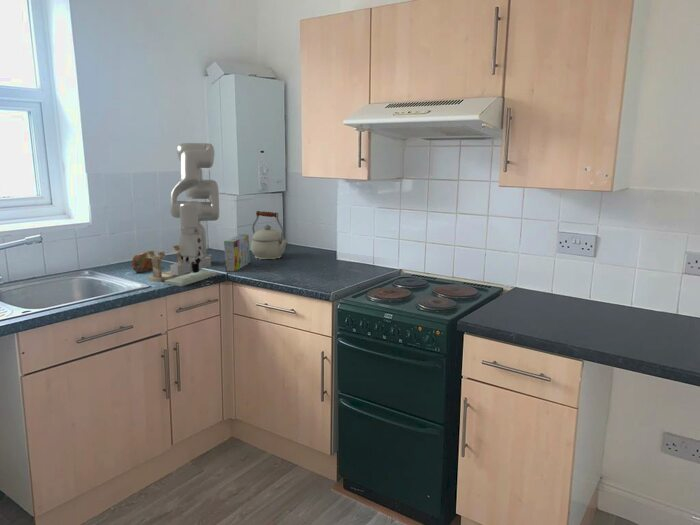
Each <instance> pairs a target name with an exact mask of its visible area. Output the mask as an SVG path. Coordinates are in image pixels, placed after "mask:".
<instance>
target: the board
mask: <svg viewBox="0 0 700 525" xmlns="http://www.w3.org/2000/svg"><path fill="white" fill-rule="evenodd" d="M216 274H217V275H218V271H213V270H203V269H199V272H196V273H193V272H191V273H190V274H186V275H183V276H179V277H176V278H172V279H169V280H166V281H164V284H165V285H169V284H171V285H170V286H178V287H184V286H187V285H189V284H193V283H196V282H200V281H203V280H206V279H209V278H208V277H210V276H213V275H216ZM217 275H216V276H217ZM213 277H214V276H213ZM205 278H206V279H205ZM210 278H211V277H210Z"/></svg>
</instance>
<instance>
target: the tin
mask: <svg viewBox="0 0 700 525" xmlns="http://www.w3.org/2000/svg"><path fill="white" fill-rule="evenodd" d="M131 263H132V269H133V271H134V272H136V273H143V271H144V272H146V270H147V271H149V270H151V269H153V264H152V258H148V254H147V251H145V252H142V253H139V254H135V255H134V256H133V257H132V260H131ZM148 269H149V270H148Z"/></svg>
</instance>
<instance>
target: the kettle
mask: <svg viewBox="0 0 700 525" xmlns="http://www.w3.org/2000/svg"><path fill="white" fill-rule="evenodd" d="M255 214H256V219H255V220H254V222H253V223H252V226H251V229H252V230H251V231H252V236H251V239H250V240H251V243H250V251H251V252H252V254H253V255H254V258H255V259H257V258H259V259H258V260H261V259H273V260H276V259H275V258H279V259H281V258H282V254H284V252H285V250H286V245H287V242H288V241H289V240H288V239H286V238H285V237H284V232H285V231H284V227H283V225H282V224H281V222H280V220H279V212H273V211H260V210H256V213H255ZM261 216H262V217H267V218H268V217H269V218H273V217H274V218H275V219H276V220H275V221H276V222H277V224H278V225H279V227H280V230H281V231H279V230H276V229H272V227H271V226H270V225H269V224H266V225H264V227H263V229H260V230H256V231H255V225H256V223H257V222H258V220H259V217H261ZM280 257H281V258H280Z"/></svg>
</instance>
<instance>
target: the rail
mask: <svg viewBox="0 0 700 525" xmlns="http://www.w3.org/2000/svg"><path fill="white" fill-rule="evenodd" d="M211 259H212V258H211V257H204V258H203V259H202V260H201V261H200V263H199V270H203V269H205V268H209V267H211V266H212V260H211ZM196 260H197V259H196ZM193 264H194V262H193V260H189V261H185V262H181V263H178V262H176V263H173V264H170V265H169V268H170V271H171V274H173V275H180V274H184V273H187V272H191V273H192V272H193Z"/></svg>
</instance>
